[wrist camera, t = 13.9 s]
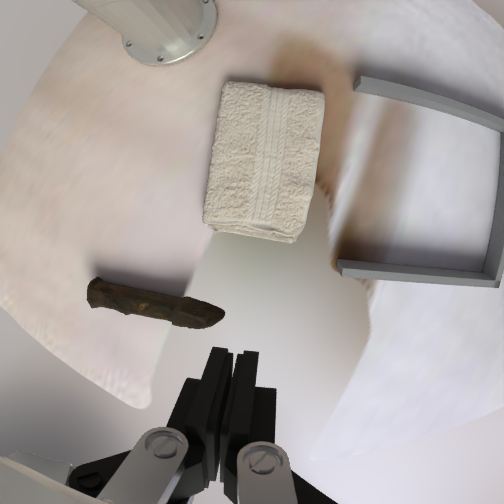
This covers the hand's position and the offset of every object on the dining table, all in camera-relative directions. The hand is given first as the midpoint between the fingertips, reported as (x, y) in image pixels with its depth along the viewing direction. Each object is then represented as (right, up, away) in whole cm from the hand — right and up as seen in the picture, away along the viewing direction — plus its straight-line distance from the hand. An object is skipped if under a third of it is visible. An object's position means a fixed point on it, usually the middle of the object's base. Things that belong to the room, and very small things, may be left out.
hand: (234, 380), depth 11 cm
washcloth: (+2, +15, +25) cm, 29 cm away
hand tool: (-12, -1, +30) cm, 32 cm away
